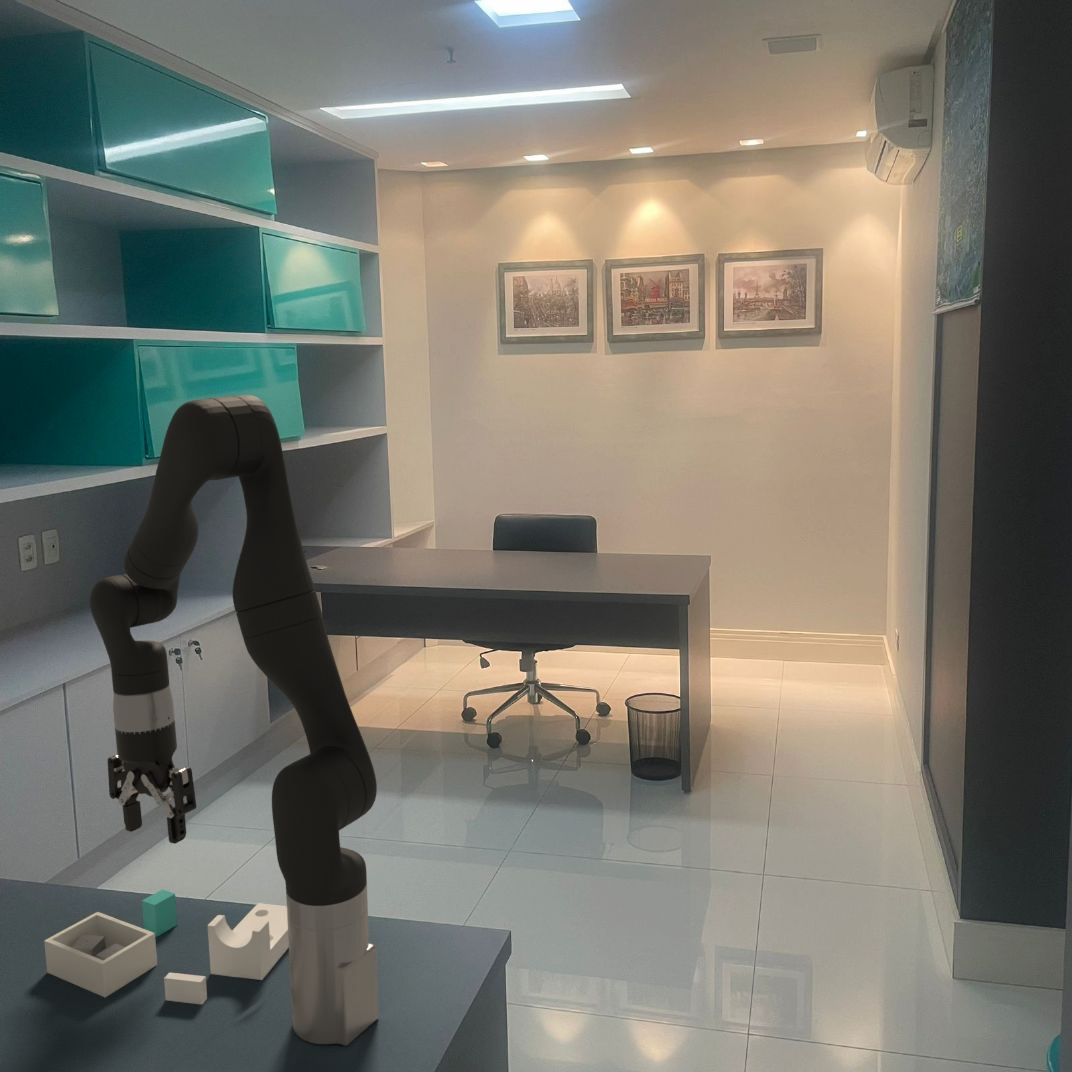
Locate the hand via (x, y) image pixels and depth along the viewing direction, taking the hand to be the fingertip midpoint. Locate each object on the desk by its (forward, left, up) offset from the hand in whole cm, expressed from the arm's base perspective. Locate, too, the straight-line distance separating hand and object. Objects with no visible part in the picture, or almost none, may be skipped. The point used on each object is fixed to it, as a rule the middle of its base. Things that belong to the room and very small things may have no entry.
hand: (155, 835), depth 142 cm
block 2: (-4, +11, -14) cm, 18 cm away
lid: (+4, 0, -15) cm, 15 cm away
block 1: (+1, +11, -14) cm, 17 cm away
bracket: (-16, -2, -15) cm, 22 cm away
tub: (-1, +11, -14) cm, 18 cm away
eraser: (-16, +10, -14) cm, 24 cm away
